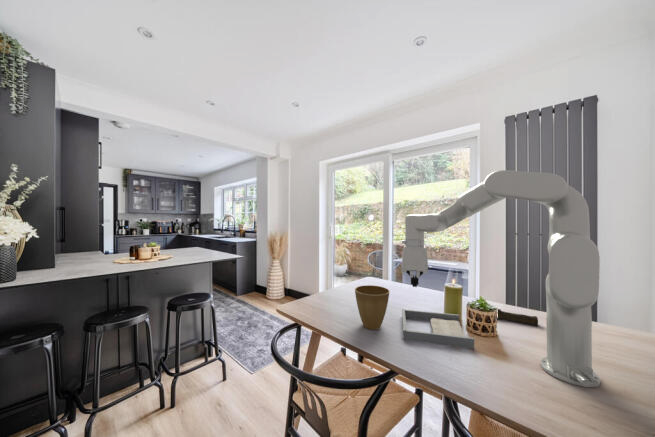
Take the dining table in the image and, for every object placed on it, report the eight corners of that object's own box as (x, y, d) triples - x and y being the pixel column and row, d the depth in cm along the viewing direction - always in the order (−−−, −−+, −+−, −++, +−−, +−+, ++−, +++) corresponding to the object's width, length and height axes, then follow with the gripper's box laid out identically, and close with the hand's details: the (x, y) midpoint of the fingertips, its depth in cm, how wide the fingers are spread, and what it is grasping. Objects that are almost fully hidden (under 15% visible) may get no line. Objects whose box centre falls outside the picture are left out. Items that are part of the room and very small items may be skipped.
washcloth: (458, 325, 104) (458, 318, 104) (469, 346, 87) (469, 338, 87) (429, 322, 108) (429, 315, 108) (433, 342, 91) (433, 333, 91)
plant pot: (388, 336, 94) (388, 296, 94) (351, 331, 99) (351, 293, 99) (391, 321, 108) (390, 286, 108) (358, 317, 113) (358, 283, 113)
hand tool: (537, 324, 104) (536, 313, 104) (538, 327, 101) (538, 316, 101) (485, 314, 115) (485, 305, 115) (485, 317, 112) (485, 307, 112)
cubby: (474, 349, 85) (474, 339, 85) (403, 339, 92) (403, 330, 92) (458, 322, 106) (458, 314, 106) (402, 316, 113) (402, 309, 113)
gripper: (396, 243, 99) (396, 287, 99) (435, 245, 95) (434, 290, 95) (396, 242, 107) (396, 282, 107) (432, 243, 102) (432, 285, 102)
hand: (414, 286), depth 101 cm, fingers closed
